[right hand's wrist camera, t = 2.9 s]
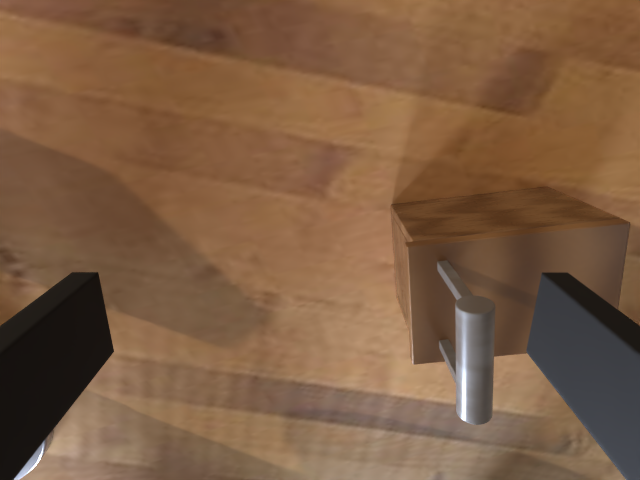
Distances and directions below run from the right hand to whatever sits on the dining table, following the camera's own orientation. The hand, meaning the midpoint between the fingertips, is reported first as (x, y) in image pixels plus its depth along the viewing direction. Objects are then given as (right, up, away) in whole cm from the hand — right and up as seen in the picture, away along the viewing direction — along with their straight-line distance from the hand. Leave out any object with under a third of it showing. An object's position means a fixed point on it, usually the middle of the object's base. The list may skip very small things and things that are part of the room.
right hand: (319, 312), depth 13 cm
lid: (+14, -2, +17) cm, 22 cm away
